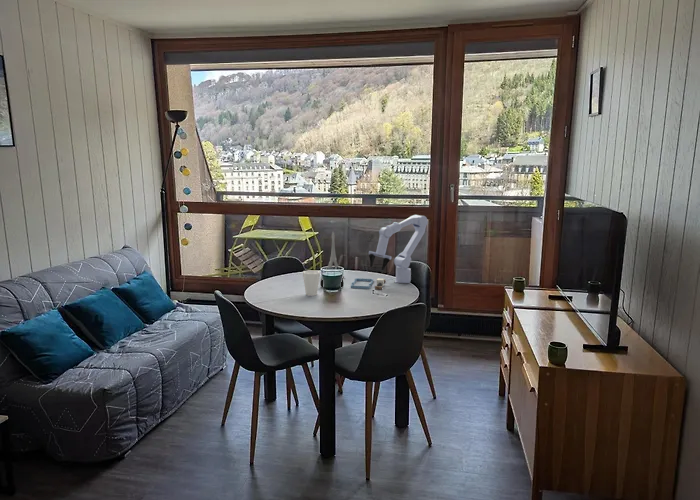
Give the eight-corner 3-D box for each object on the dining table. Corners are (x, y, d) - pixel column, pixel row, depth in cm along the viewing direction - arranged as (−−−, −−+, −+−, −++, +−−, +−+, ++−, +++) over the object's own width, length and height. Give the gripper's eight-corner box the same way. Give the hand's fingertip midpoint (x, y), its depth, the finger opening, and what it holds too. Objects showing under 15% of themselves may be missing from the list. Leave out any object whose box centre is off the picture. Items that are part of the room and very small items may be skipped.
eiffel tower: (322, 275, 332) (321, 230, 327) (341, 274, 334) (341, 230, 329) (324, 279, 319) (324, 233, 314) (345, 278, 321) (345, 232, 316)
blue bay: (373, 281, 315) (373, 277, 314) (369, 288, 296) (369, 285, 296) (356, 280, 317) (356, 277, 316) (350, 287, 298) (350, 284, 298)
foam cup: (317, 297, 278) (317, 274, 276) (301, 296, 280) (300, 273, 278) (321, 292, 287) (321, 270, 285) (306, 291, 289) (305, 269, 287)
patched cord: (384, 283, 310) (384, 277, 309) (382, 288, 298) (382, 281, 298) (378, 283, 311) (378, 276, 310) (375, 287, 299) (375, 281, 298)
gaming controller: (344, 286, 302) (344, 270, 300) (343, 288, 296) (343, 272, 294) (321, 285, 303) (321, 269, 302) (319, 288, 297) (319, 271, 296)
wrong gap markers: (385, 281, 314) (385, 279, 313) (381, 289, 294) (381, 287, 294) (379, 281, 314) (379, 279, 314) (374, 289, 295) (374, 286, 295)
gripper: (369, 243, 302) (363, 265, 303) (391, 249, 297) (385, 271, 297) (373, 244, 309) (367, 265, 309) (394, 249, 303) (389, 271, 304)
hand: (376, 268), depth 304 cm, fingers open, 7 cm apart
